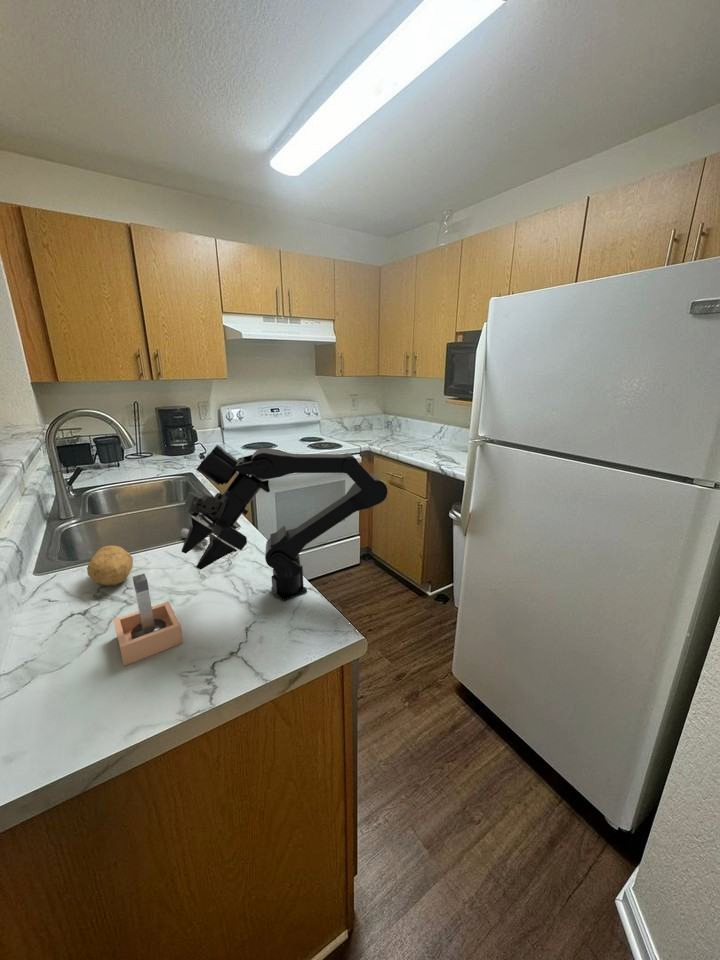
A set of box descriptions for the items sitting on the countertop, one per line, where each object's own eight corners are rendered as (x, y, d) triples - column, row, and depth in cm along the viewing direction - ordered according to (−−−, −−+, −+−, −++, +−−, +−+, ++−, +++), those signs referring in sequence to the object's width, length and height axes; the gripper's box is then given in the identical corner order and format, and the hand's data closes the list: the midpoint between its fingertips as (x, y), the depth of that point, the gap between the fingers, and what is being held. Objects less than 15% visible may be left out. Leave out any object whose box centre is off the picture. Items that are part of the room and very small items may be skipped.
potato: (89, 600, 89) (82, 569, 87) (91, 574, 100) (85, 546, 98) (137, 588, 94) (132, 558, 92) (134, 564, 105) (129, 538, 103)
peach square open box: (171, 617, 83) (168, 601, 82) (183, 642, 75) (180, 625, 74) (117, 636, 77) (113, 619, 76) (124, 665, 69) (120, 647, 68)
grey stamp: (163, 621, 80) (154, 567, 76) (169, 636, 75) (160, 579, 72) (130, 633, 76) (119, 576, 73) (134, 649, 72) (123, 590, 68)
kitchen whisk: (191, 531, 128) (188, 513, 126) (241, 567, 105) (239, 545, 103) (172, 536, 124) (169, 518, 122) (220, 575, 101) (217, 553, 99)
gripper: (191, 468, 85) (144, 528, 81) (225, 487, 71) (170, 560, 67) (230, 495, 92) (187, 551, 88) (267, 516, 78) (219, 584, 74)
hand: (190, 560), depth 79 cm, fingers open, 9 cm apart
